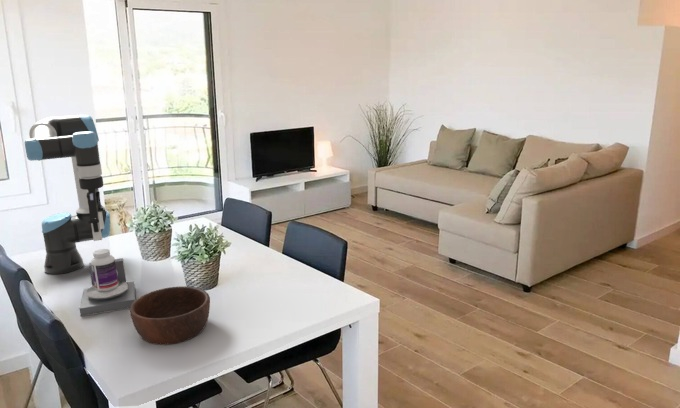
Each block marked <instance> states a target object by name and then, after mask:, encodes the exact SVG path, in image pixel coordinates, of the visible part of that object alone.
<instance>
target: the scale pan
mask: <svg viewBox="0 0 680 408" xmlns="http://www.w3.org/2000/svg"><path fill="white" fill-rule="evenodd" d="M126 282H127V281H126ZM126 282H123V281H118V283H119V284H118V286H117V287H116V288H115V289H113V290H110V291H98V290H96V289H95V285H94V286H92V285H91V286H90V287H88V288H89V289H88V290H87V296H88V297H89V298H91V299H97V300H101V299H109V298H113V297H117V296H119V295H121V294H123V293H125V292H126V291H127V290H128V284H127V283H126Z"/></svg>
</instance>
